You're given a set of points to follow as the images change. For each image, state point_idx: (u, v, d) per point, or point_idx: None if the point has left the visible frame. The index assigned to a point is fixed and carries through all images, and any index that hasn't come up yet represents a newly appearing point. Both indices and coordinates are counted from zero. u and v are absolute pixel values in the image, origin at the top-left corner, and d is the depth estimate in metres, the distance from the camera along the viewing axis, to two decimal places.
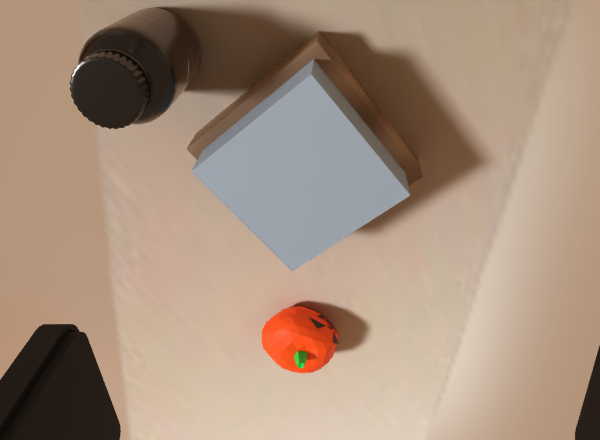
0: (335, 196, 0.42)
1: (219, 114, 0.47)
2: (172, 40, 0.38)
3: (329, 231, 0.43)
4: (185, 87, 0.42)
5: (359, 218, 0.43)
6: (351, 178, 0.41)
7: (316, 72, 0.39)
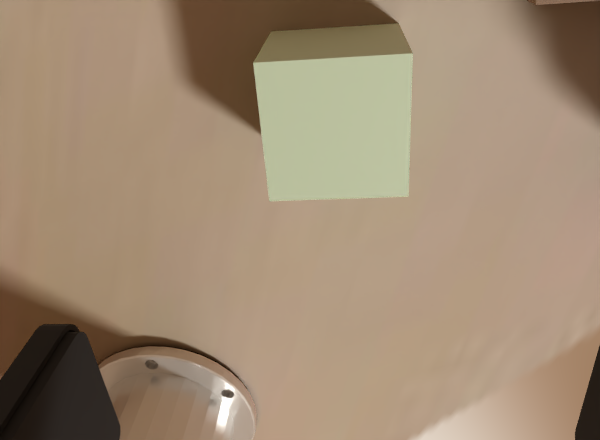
0: None
1: None
2: None
3: None
4: None
5: None
6: None
7: None
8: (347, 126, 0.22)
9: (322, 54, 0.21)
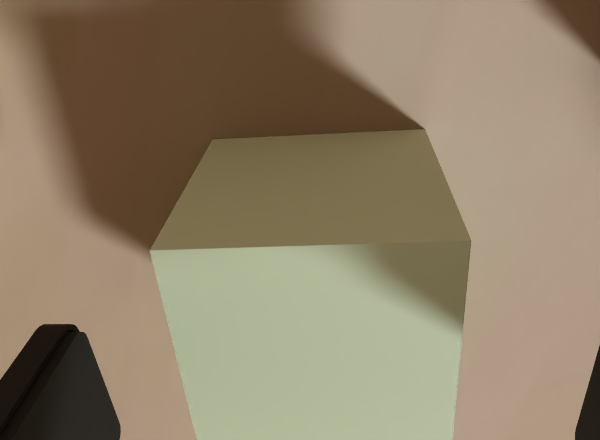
0: None
1: None
2: None
3: None
4: None
5: None
6: None
7: None
8: (339, 354, 0.11)
9: (289, 228, 0.11)
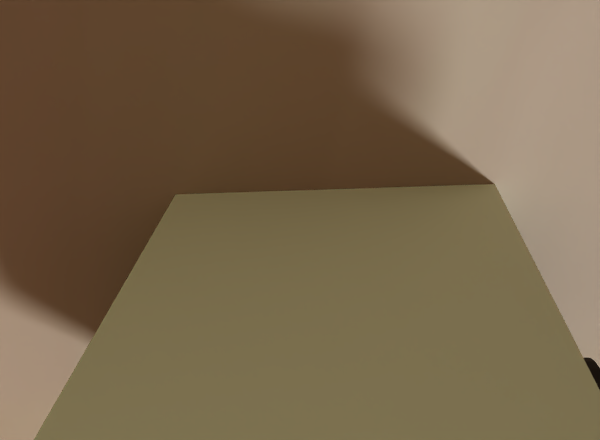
0: None
1: None
2: None
3: None
4: None
5: None
6: None
7: None
8: None
9: (280, 428, 0.06)
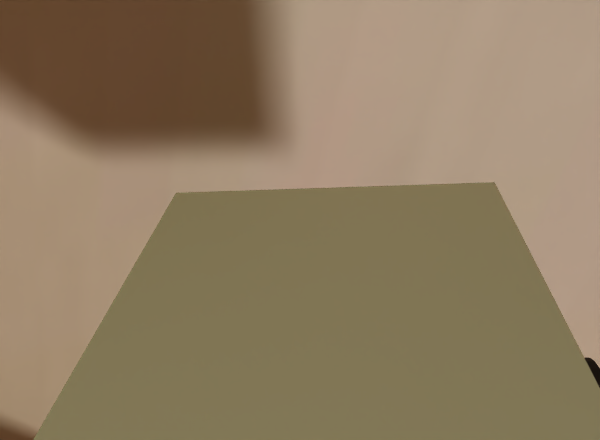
0: None
1: None
2: None
3: None
4: None
5: None
6: None
7: None
8: None
9: (280, 425, 0.06)
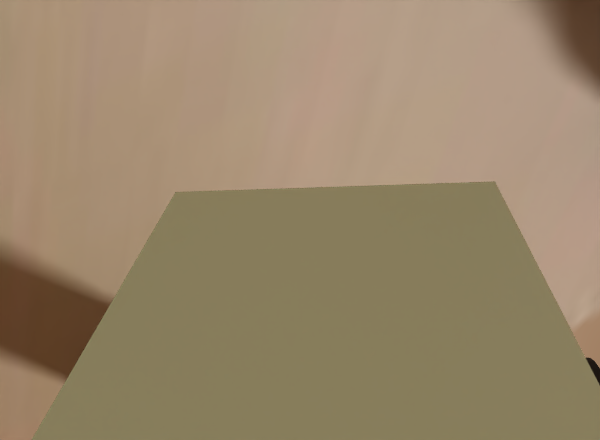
0: None
1: None
2: None
3: None
4: None
5: None
6: None
7: None
8: None
9: (280, 425, 0.06)
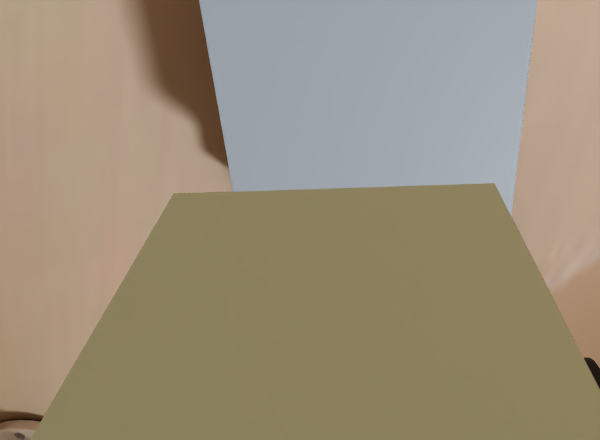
0: (328, 36, 0.20)
1: None
2: None
3: None
4: None
5: None
6: (278, 52, 0.20)
7: None
8: None
9: (277, 429, 0.06)
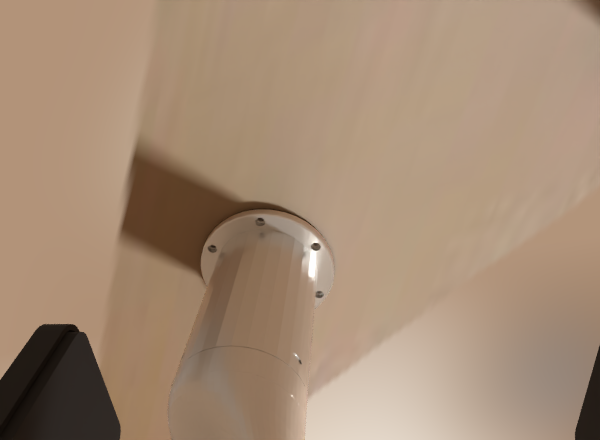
0: None
1: None
2: None
3: None
4: None
5: None
6: None
7: None
8: None
9: None
